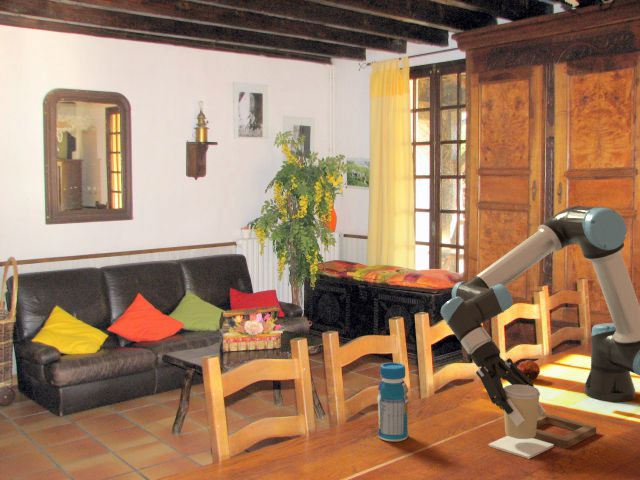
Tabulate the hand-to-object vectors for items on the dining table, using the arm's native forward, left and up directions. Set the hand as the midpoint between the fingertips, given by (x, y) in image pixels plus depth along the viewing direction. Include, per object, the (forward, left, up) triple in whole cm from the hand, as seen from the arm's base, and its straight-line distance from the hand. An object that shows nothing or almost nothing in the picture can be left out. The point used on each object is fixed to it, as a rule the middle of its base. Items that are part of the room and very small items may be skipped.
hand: (531, 418), depth 190 cm
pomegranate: (-55, -35, -9) cm, 66 cm away
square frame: (-15, -2, -8) cm, 17 cm away
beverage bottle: (+19, -31, -8) cm, 37 cm away
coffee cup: (0, -3, -5) cm, 6 cm away
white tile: (0, -3, -8) cm, 9 cm away
